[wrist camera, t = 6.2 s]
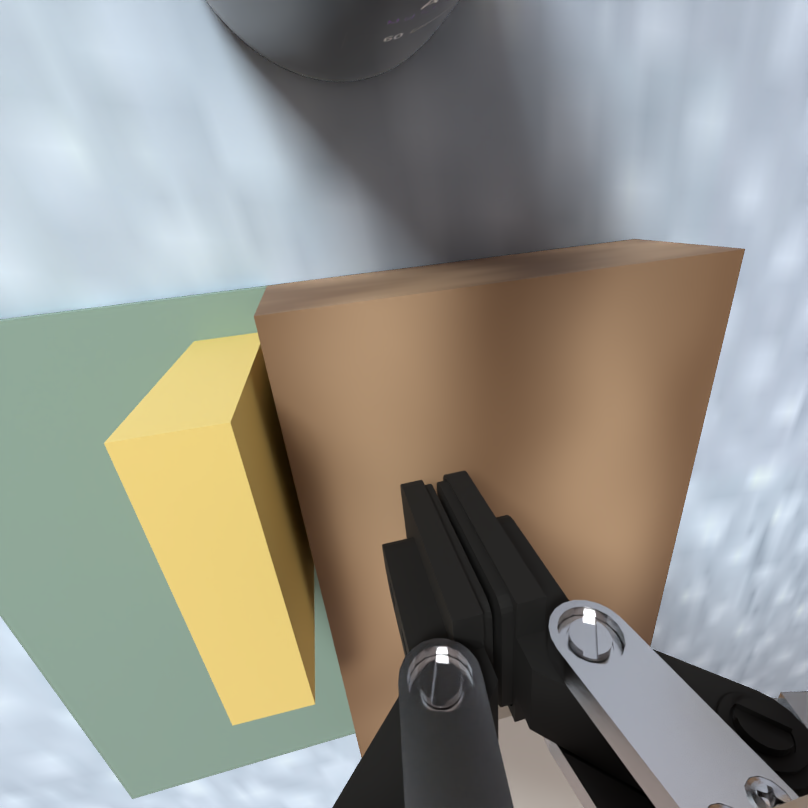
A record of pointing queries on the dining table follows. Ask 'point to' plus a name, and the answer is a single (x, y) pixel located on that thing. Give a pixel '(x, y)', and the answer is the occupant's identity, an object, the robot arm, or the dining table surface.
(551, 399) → the board
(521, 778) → the white flat block
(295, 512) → the yellow rectangular block
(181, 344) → the mat
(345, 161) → the dining table surface
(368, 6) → the supplement bottle
